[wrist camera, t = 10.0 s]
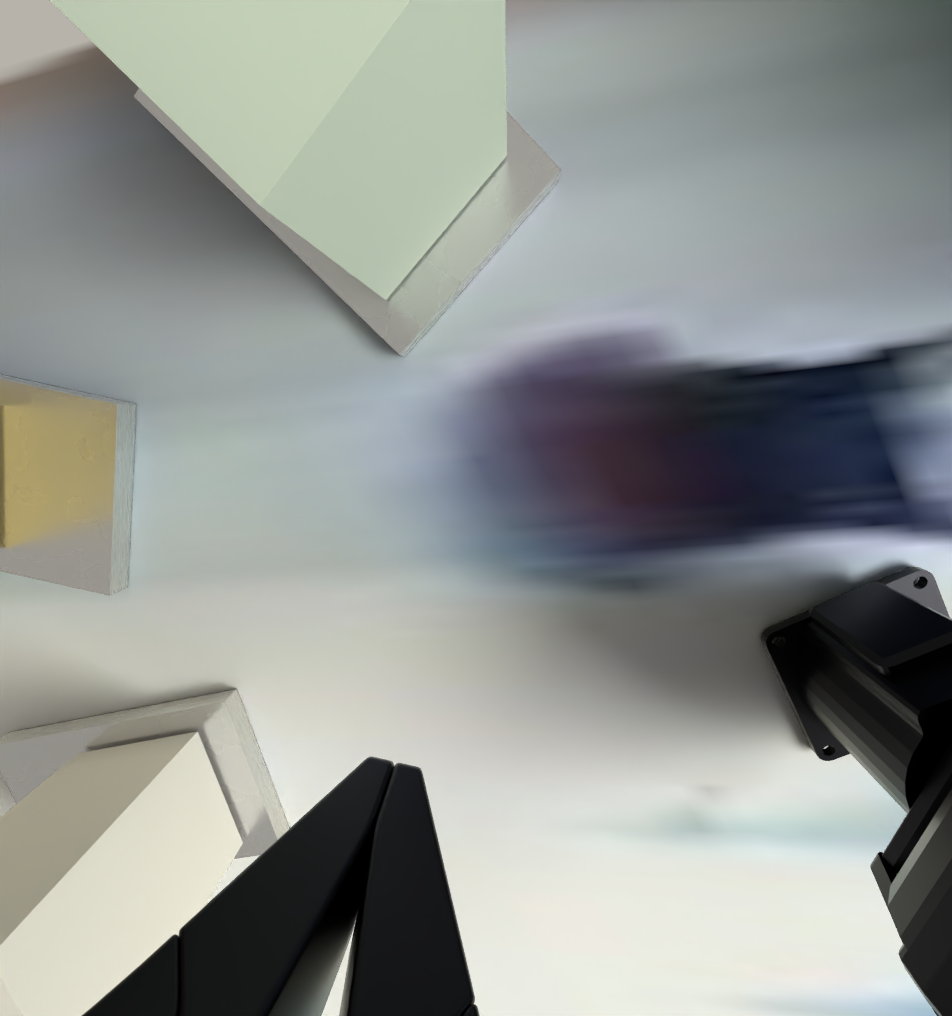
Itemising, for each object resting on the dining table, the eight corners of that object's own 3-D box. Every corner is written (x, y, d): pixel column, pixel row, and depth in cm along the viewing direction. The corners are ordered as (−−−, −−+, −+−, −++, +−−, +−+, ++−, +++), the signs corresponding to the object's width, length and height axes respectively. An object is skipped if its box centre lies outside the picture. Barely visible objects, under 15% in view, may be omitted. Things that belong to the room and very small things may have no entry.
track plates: (766, 631, 20) (779, 643, 19) (110, 910, 26) (95, 930, 25) (390, -179, 15) (382, -218, 14) (-318, 387, 21) (-358, 386, 20)
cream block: (197, 731, 22) (-11, 957, 13) (243, 842, 23) (79, 1117, 14) (77, 753, 23) (-197, 981, 14) (127, 860, 24) (-96, 1132, 15)
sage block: (506, 155, 16) (503, -128, 7) (385, 300, 17) (259, 205, 9) (368, 8, 15) (185, -494, 7) (253, 169, 17) (-30, -77, 8)
